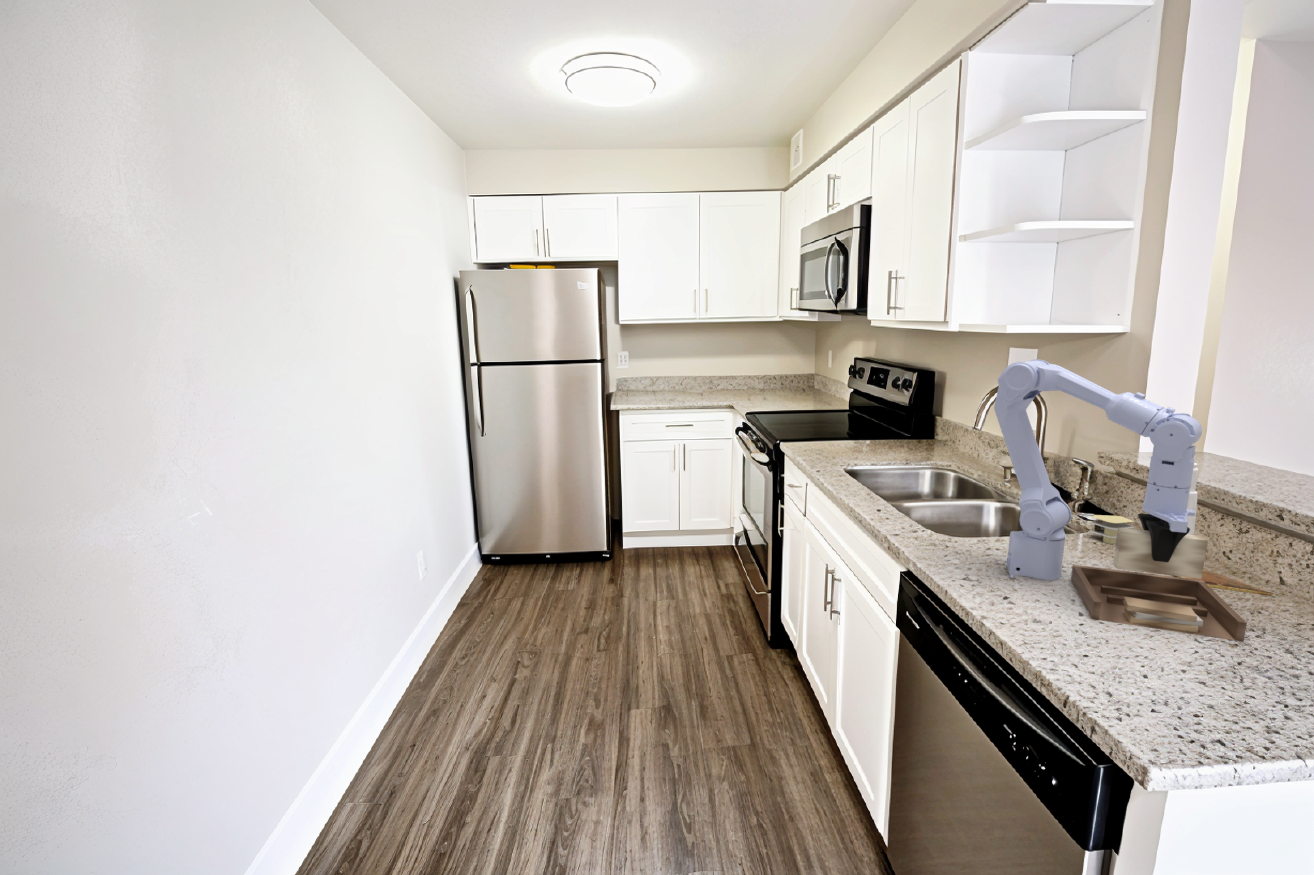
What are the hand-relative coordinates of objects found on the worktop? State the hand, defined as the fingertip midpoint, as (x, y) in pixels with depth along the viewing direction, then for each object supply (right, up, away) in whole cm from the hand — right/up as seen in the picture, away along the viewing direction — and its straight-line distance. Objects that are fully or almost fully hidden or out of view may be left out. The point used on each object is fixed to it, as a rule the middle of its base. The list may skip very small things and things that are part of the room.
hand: (1157, 557), depth 107 cm
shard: (+20, -8, +11) cm, 24 cm away
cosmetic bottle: (+21, -6, +20) cm, 29 cm away
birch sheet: (0, -2, 0) cm, 2 cm away
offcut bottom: (-4, -10, -5) cm, 12 cm away
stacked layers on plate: (+18, -3, +35) cm, 39 cm away
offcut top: (-4, -8, -5) cm, 11 cm away
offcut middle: (-4, -9, -5) cm, 11 cm away
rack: (-2, -10, 0) cm, 10 cm away
